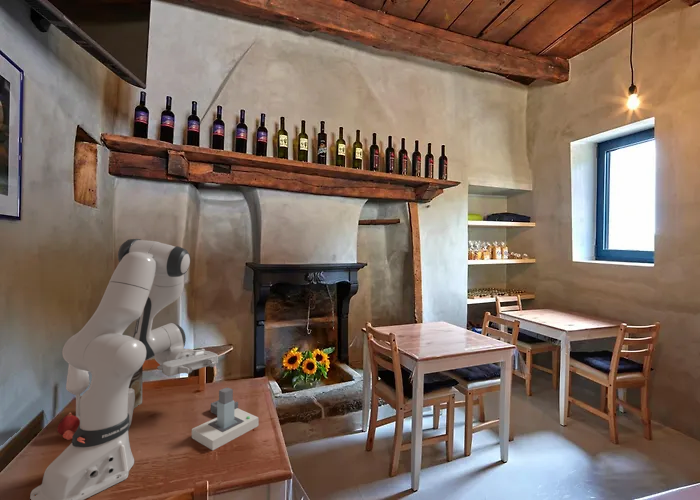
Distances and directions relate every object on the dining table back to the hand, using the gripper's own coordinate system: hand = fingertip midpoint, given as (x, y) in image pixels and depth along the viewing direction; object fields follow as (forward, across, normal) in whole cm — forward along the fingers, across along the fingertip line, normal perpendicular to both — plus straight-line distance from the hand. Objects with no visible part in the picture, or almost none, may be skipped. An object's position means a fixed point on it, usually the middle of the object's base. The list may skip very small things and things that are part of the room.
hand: (202, 367), depth 125 cm
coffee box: (-32, -12, +20) cm, 39 cm away
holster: (+1, +10, +19) cm, 21 cm away
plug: (+14, +1, +19) cm, 24 cm away
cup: (-18, -19, +20) cm, 33 cm away
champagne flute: (-36, -26, +20) cm, 49 cm away
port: (+14, +1, +19) cm, 24 cm away
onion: (-25, -32, +20) cm, 45 cm away
